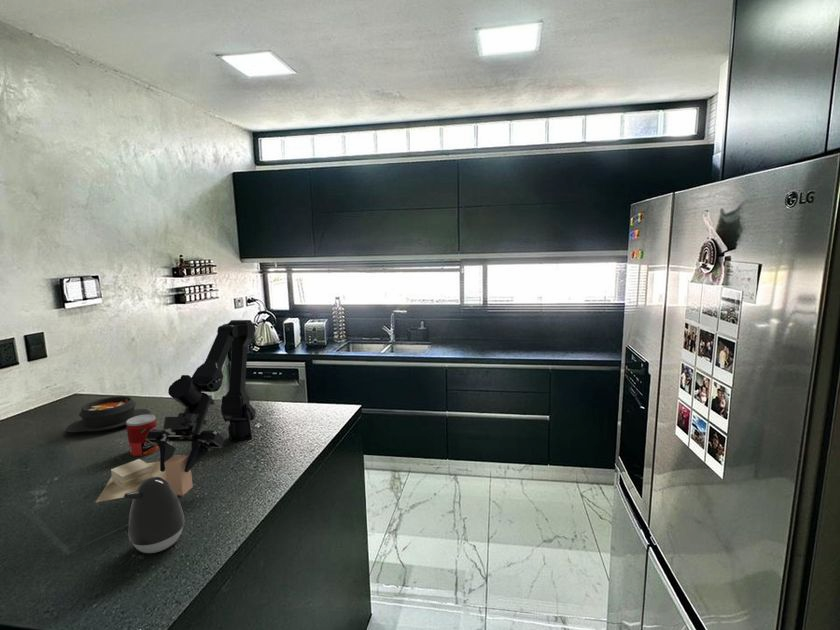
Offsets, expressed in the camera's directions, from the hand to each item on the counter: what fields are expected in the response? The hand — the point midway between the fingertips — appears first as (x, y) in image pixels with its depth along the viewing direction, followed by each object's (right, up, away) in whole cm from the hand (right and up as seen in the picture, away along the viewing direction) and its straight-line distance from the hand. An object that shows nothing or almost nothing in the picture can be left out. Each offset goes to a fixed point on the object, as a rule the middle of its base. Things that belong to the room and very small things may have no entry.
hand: (173, 471), depth 111 cm
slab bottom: (-16, -5, +8) cm, 18 cm away
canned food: (-23, -3, +25) cm, 35 cm away
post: (+1, -6, +2) cm, 7 cm away
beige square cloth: (-13, -5, +9) cm, 17 cm away
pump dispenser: (+7, -10, -17) cm, 21 cm away
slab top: (-16, -3, +8) cm, 18 cm away
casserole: (-50, 0, +47) cm, 69 cm away
